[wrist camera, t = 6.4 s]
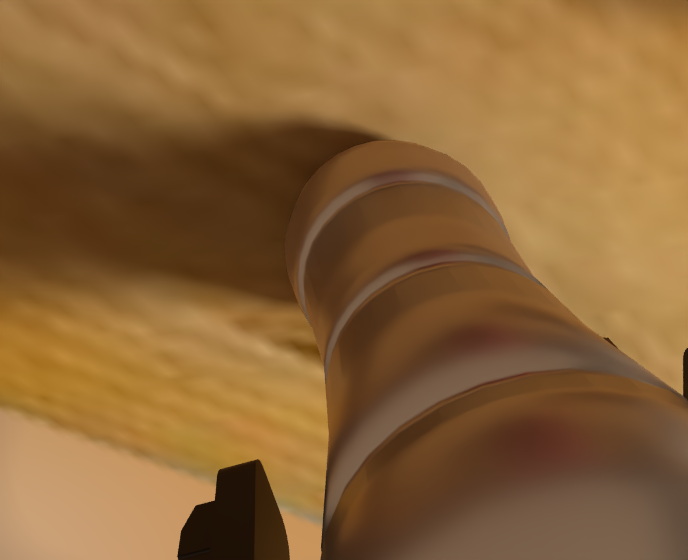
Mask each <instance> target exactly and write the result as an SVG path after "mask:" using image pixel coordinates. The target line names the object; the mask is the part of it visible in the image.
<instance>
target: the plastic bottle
mask: <svg viewBox="0 0 688 560" xmlns="http://www.w3.org/2000/svg"><path fill="white" fill-rule="evenodd" d="M284 251H285V260H286V270H287V273H288V276H289V279H290V282H291V285H292V288H293V291H294V293H295V296H296V298H297V301H298V304H299V306H300V308H301V310H302V312H303V313H304V315H305V317H306V319H307V320H308V322H309V324H310V325H311V327H312V329H313V332H314V335H315V339H316V342H317V345H318V348H319V352H320V355H321V358H322V361H323V365H324V372H325V384H326V400H327V414H328V428H329V441H328V456H327V470H326V485H325V499H324V513H323V528H322V543H321V551H322V554H321V560H688V400H687V399H686V398H685V397H684V396H682V395H681V394H680V393H678V392H677V391H675V390H674V389H673V388H671V387H670V386H668V385H667V384H666V383H664V382H663V381H662V380H660V379H659V378H657V377H656V376H655V375H653V374H652V373H651V372H649V371H648V370H646V369H645V368H644V367H642V366H641V365H639V364H638V363H637V362H635V361H634V360H633V359H631V358H630V357H628V356H627V355H626V354H624V353H623V352H621V351H620V350H619V349H617V348H616V347H615V346H613V345H612V344H610V343H609V342H608V341H606V340H605V339H603V338H602V337H601V336H599V335H598V334H597V333H595V332H594V331H592V330H591V329H590V328H588V327H587V326H586V325H584V324H583V323H582V322H581V321H580V320H579V319H578V318H577V317H576V316H575V315H574V314H573V313H572V312H571V311H570V310H569V309H568V308H567V307H566V306H564V305H563V304H562V303H561V302H560V301H559V300H558V299H557V298H556V297H555V296H554V295H553V294H552V293H551V292H550V291H549V290H548V289H547V288H546V287H544V286H543V285H542V284H541V283H540V282H539V281H538V280H537V279H536V278H535V277H534V276H533V274H532V273H531V271H530V270H529V268H528V267H527V265H526V264H525V262H524V261H523V259H522V258H521V256H520V255H519V253H518V252H517V250H516V249H515V247H514V246H513V244H512V243H511V240H510V237H509V234H508V232H507V229H506V227H505V224H504V221H503V219H502V216H501V214H500V213H499V211H498V209H497V207H496V205H495V204H494V202H493V200H492V198H491V197H490V195H489V194H488V192H487V191H486V189H485V188H484V186H483V185H482V183H481V181H480V180H478V179H477V178H476V177H475V176H474V175H473V174H472V173H471V172H470V171H469V170H468V169H467V168H466V167H465V166H464V165H462V164H461V163H459V162H457V161H456V160H454V159H453V158H451V157H450V156H448V155H446V154H443V153H441V152H438V151H435V150H433V149H430V148H427V147H424V146H421V145H418V144H415V143H410V142H404V141H397V140H384V141H372V142H368V143H364V144H360V145H356V146H353V147H351V148H349V149H347V150H345V151H343V152H340V153H338V154H336V155H335V156H334V157H332V158H331V159H330V160H328V161H327V162H326V163H324V164H323V165H322V166H320V167H319V169H318V170H317V171H316V172H315V173H314V174H313V175H312V176H311V177H310V179H309V180H308V181H307V183H306V184H305V186H304V188H303V189H302V191H301V193H300V195H299V196H298V198H297V201H296V203H295V206H294V208H293V211H292V214H291V217H290V220H289V223H288V226H287V230H286V239H285V249H284Z"/></svg>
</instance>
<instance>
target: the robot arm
mask: <svg viewBox="0 0 688 560" xmlns="http://www.w3.org/2000/svg"><path fill="white" fill-rule="evenodd" d="M683 396H684V397H685V398H686V399H687V400H688V348H687V349H686V350H685V352H684V356H683ZM177 557H178V560H290V558H289V557H290V556H289V546H288V540H287V535H286V530H285V526H284V523H283V519H282V516H281V514H280V511H279V508H278V506H277V503H276V500H275V498H274V495H273V492H272V490H271V487H270V484H269V482H268V479H267V476H266V473H265V471H264V468H263V466H262V464H261V462H260V461H259V460H258V459H257V460H254V461H250V462H246V463H242V464H238V465H235V466H231V467H227V468H223V469H220V470H219V471H218V474H217V483H216V494H215V501H211V502H208V503H204V504H200V505H196V506H195V508H194V510H193V511H192V513H191V515H190V516H189V518H188V520H187V522H186V523H185V525H184V527H183V528H182V530H181V536H180V542H179V549H178V556H177Z"/></svg>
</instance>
